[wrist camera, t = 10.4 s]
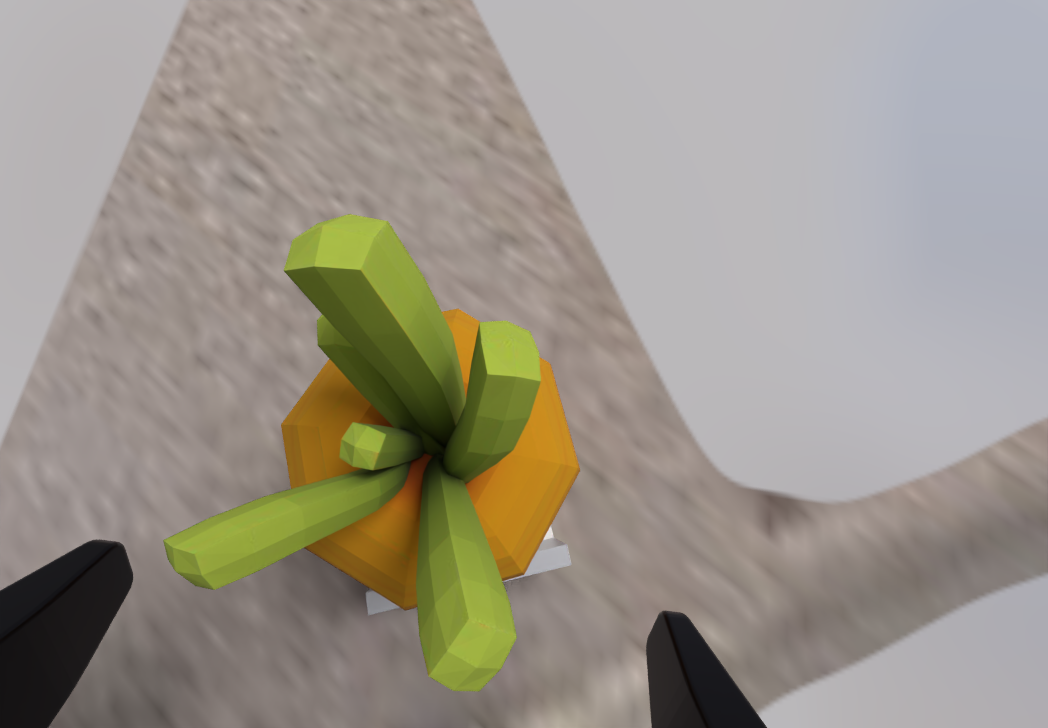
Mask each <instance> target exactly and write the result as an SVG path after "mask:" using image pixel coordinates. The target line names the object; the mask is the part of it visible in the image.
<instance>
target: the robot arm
mask: <svg viewBox="0 0 1048 728" xmlns="http://www.w3.org/2000/svg"><path fill="white" fill-rule="evenodd" d="M132 582H133V572H132V569H131V566H130V562H129V559H128V556H127V553H126V550H125V547H124V546H123V544H121V543H120V542H115V541H107V540H92V541H89V542H87V543H85V544H83V545H81V546H79V547H78V548H76V549H74V550H72V551H70V552H69V553H67V554H65V555H63V556H61V557H60V558H58V559H56V560H54V561H52V562H51V563H49V564H47V565H45V566H43V567H42V568H40V569H38V570H36V571H35V572H33V573H31V574H29V575H27V576H26V577H24V578H22V579H20V580H18V581H17V582H15V583H13V584H11V585H9V586H8V587H6V588H4V589H2V590H1V591H0V728H48V727H49V725H50V724H51V722H52V721H53V719H54V718H55V716H56V715H57V713H58V712H59V710H60V709H61V708H62V706H63V705H64V703H65V702H66V700H67V698H68V697H69V695H70V694H71V692H72V691H73V689H74V688H75V686H76V684H77V683H78V681H79V679H80V678H81V676H82V674H83V673H84V671H85V669H86V667H87V666H88V664H89V662H90V660H91V658H92V657H93V655H94V653H95V651H96V649H97V648H98V646H99V644H100V642H101V640H102V639H103V637H104V635H105V633H106V632H107V630H108V628H109V626H110V624H111V623H112V621H113V619H114V617H115V615H116V614H117V612H118V610H119V608H120V606H121V605H122V603H123V601H124V599H125V597H126V596H127V594H128V592H129V590H130V588H131V585H132ZM646 655H647V669H648V682H649V696H650V709H651V723H652V728H767V727H766V725H765V724H764V723H763V721H762V720H761V719H760V717H759V716H758V714H757V713H756V712H755V710H754V709H753V707H752V706H751V705H750V703H749V702H748V700H747V699H746V698H745V696H744V695H743V693H742V692H741V691H740V689H739V688H738V686H737V685H736V684H735V682H734V681H733V679H732V678H731V677H730V675H729V674H728V672H727V671H726V670H725V668H724V667H723V665H722V664H721V663H720V661H719V660H718V658H717V657H716V656H715V654H714V653H713V651H712V650H711V649H710V647H709V646H708V644H707V643H706V642H705V640H704V639H703V637H702V636H701V635H700V633H699V632H698V630H697V629H696V628H695V626H694V625H693V623H692V622H691V621H690V619H689V618H688V617H687V616H686V615H685V614H683V613H680V612H672V611H662V612H660V613H659V615H658V617H657V619H656V621H655V623H654V626H653V628H652V630H651V632H650V634H649V636H648V639H647V645H646Z"/></svg>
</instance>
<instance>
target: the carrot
mask: <svg viewBox="0 0 1048 728" xmlns="http://www.w3.org/2000/svg"><path fill="white" fill-rule="evenodd" d="M284 272H285V273H286V274H287V275H288V276H289V277H290V278H291V279H292V281H293V282H294V283H295V284H296V285H297V286H298V287H299V288H300V290H301V291H302V292H303V293H304V294H305V295H306V296H307V297H308V299H309V300H310V301H311V302H312V303H313V304H314V305H315V306H316V308H317V309H318V310H319V311H320V312H321V313H322V315H321V317H320V318H319V319H318V320H317V336H318V346H319V347H320V348H321V350H322V351H323V352H324V353H325V354H326V355H327V356H328V357H329V358H330V359H329V360H328V362H327V363H326V364H325V366H324V367H323V368H322V370H321V371H320V372H319V374H318V375H317V377H316V378H315V379H314V381H313V382H312V383H311V385H310V386H309V387H308V389H307V390H306V391H305V393H304V394H303V396H302V397H301V398H300V400H299V401H298V402H297V404H296V405H295V406H294V408H293V409H292V411H291V412H290V413H289V415H288V416H287V417H286V419H285V420H284V421H283V423H282V424H281V427H282V433H283V440H284V446H285V453H286V459H287V465H288V472H289V478H290V485H291V489H289V490H286V491H282V492H279V493H275V494H272V495H268V496H265V497H262V498H260V499H257V500H254V501H252V502H249V503H247V504H244V505H242V506H239V507H236V508H234V509H231V510H229V511H226V512H224V513H221V514H218V515H216V516H213V517H211V518H208V519H206V520H204V521H202V522H200V523H198V524H196V525H194V526H192V527H190V528H188V529H186V530H184V531H182V532H179V533H177V534H175V535H173V536H171V537H169V538H167V539H165V540H163V541H164V545H165V549H166V553H167V557H168V560H169V562H170V563H171V565H172V567H173V568H174V570H175V571H176V572H177V573H178V574H180V575H181V576H183V577H184V578H185V579H187V580H188V581H190V582H191V583H192V584H194V585H195V586H198V587H203V588H208V589H213V590H215V589H218V588H220V587H222V586H225V585H227V584H229V583H232V582H234V581H236V580H239V579H241V578H243V577H246V576H248V575H250V574H253V573H255V572H257V571H259V570H261V569H263V568H265V567H267V566H269V565H271V564H273V563H275V562H277V561H279V560H280V559H282V558H284V557H286V556H288V555H290V554H292V553H294V552H296V551H298V550H300V549H302V548H305V549H307V550H309V551H310V552H312V553H313V554H315V555H317V556H318V557H320V558H321V559H323V560H325V561H326V562H328V563H329V564H331V565H333V566H334V567H336V568H338V569H339V570H341V571H342V572H344V573H346V574H347V575H349V576H350V577H352V578H354V579H355V580H357V581H359V582H360V583H362V584H363V585H365V586H367V587H368V588H370V589H371V590H373V591H375V592H376V593H378V594H379V595H381V596H383V597H384V598H386V599H388V600H389V601H391V602H392V603H394V604H396V605H397V606H399V607H400V608H402V609H404V610H409V609H412V608H415V607H417V608H418V623H419V636H420V641H421V645H422V649H423V654H424V658H425V663H426V667H427V671H428V676H429V677H431V678H432V679H434V680H436V681H438V682H439V683H441V684H443V685H444V686H446V687H448V688H449V689H451V690H453V691H480V690H481V689H482V688H483V687H484V686H485V685H486V684H487V683H488V682H489V681H490V680H491V679H492V678H493V677H494V675H495V674H496V673H497V672H498V671H499V670H500V669H501V668H502V666H503V664H504V662H505V660H506V658H507V656H508V654H509V652H510V650H511V648H512V646H513V644H514V642H515V640H516V638H517V636H516V631H515V626H514V621H513V616H512V611H511V606H510V602H509V599H508V596H507V593H506V590H505V587H504V584H503V582H502V581H505V580H509V579H512V578H515V577H519V576H522V575H524V574H525V572H526V571H527V569H528V567H529V565H530V563H531V561H532V559H533V557H534V556H535V554H536V552H537V550H538V548H539V546H540V544H541V543H542V541H543V539H544V537H545V535H546V533H547V531H548V530H549V528H550V526H551V524H552V522H553V520H554V518H555V516H556V515H557V513H558V511H559V509H560V507H561V505H562V503H563V502H564V500H565V498H566V496H567V494H568V492H569V490H570V488H571V487H572V485H573V483H574V481H575V479H576V477H577V475H578V474H579V472H580V468H579V464H578V460H577V457H576V453H575V450H574V446H573V443H572V439H571V435H570V432H569V428H568V425H567V421H566V418H565V414H564V410H563V407H562V403H561V400H560V396H559V393H558V389H557V385H556V382H555V378H554V375H553V371H552V368H551V364H550V363H548V362H547V361H545V360H543V359H542V358H540V357H539V351H538V349H537V347H536V344H535V342H534V340H533V337H532V335H531V332H530V331H528V330H525V329H523V328H521V327H519V326H517V325H514V324H512V323H510V322H508V321H493V322H479V321H478V320H476V319H474V318H473V317H471V316H469V315H468V314H466V313H464V312H463V311H461V310H459V309H454V310H449V311H444V312H441V310H440V308H439V306H438V304H437V302H436V300H435V298H434V296H433V294H432V292H431V290H430V288H429V286H428V284H427V282H426V280H425V278H424V277H423V275H422V273H421V272H420V270H419V269H418V267H417V266H416V264H415V263H414V261H413V259H412V258H411V256H410V255H409V253H408V252H407V250H406V249H405V247H404V245H403V244H402V242H401V241H400V239H399V238H398V236H397V235H396V233H395V232H394V230H393V228H392V227H391V225H390V224H389V222H388V221H384V220H378V219H373V218H367V217H362V216H357V215H351V214H348V215H345V216H342V217H338V218H335V219H331V220H328V221H324V222H321V223H318V224H316V225H315V226H313V227H312V228H310V229H309V230H307V231H306V232H304V233H303V234H301V235H300V236H298V237H297V238H295V239H294V240H293V241H292V244H291V248H290V251H289V255H288V258H287V262H286V265H285V268H284Z"/></svg>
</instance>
